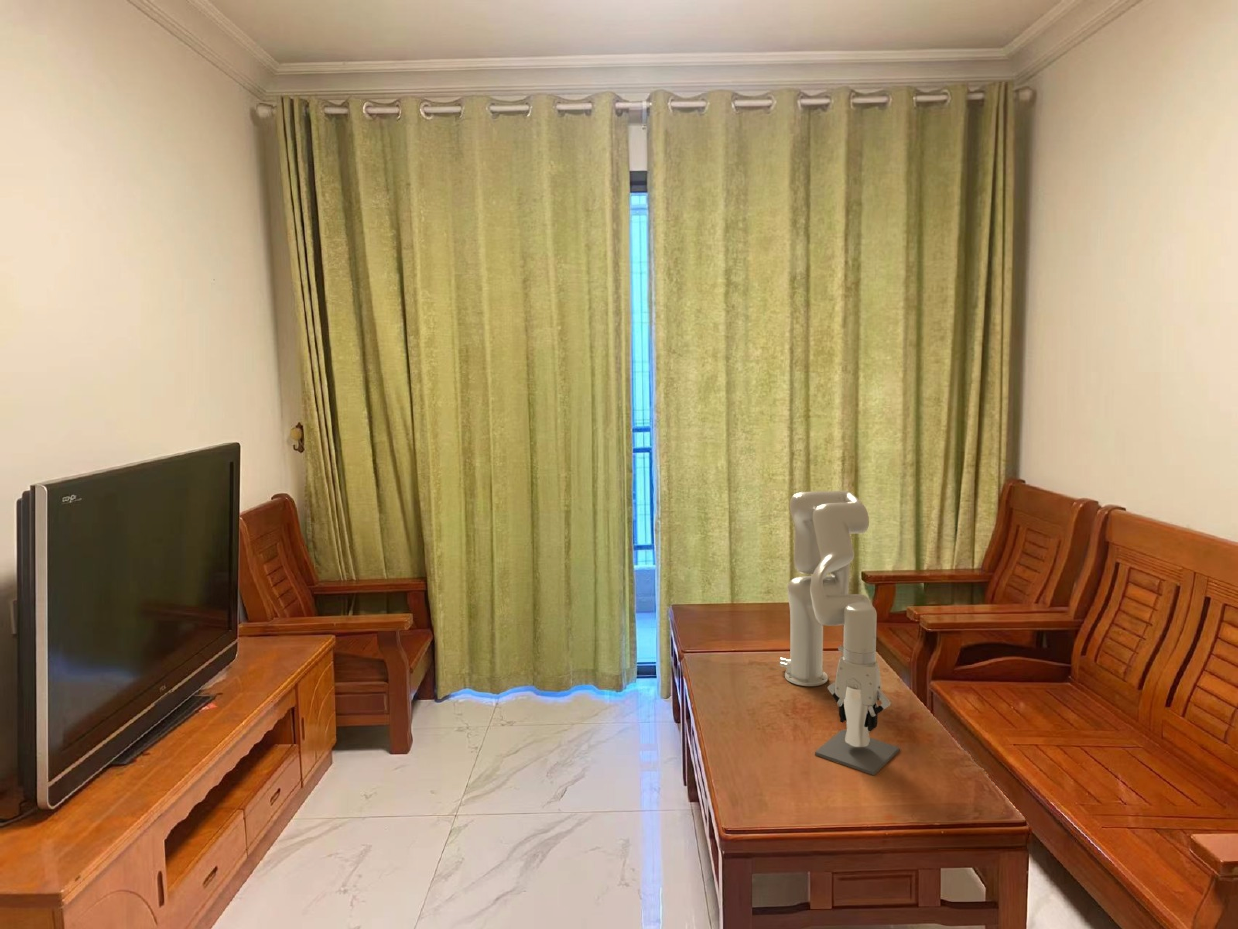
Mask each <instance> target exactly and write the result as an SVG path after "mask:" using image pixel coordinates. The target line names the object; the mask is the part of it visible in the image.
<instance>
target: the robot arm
mask: <svg viewBox="0 0 1238 929" xmlns="http://www.w3.org/2000/svg"><path fill="white" fill-rule="evenodd" d="M789 511H790V516H791V519H792V521H793V525H794V542H793V543H794V545H793V547H794V548H793V563H794V564H793V565H794V569H795V570H796V571H797V572H798V573H799V574H804V575H805V576H803V575H802V576H796V577H794V578H792V579H790V581H789V582H788V584H787V589H786V590H787V599H788V604H789V605H788V606H789V618H790V619H789V620H790V624H789V626H790V628H789V629H790V633H789V634H790V635H789V636H790V637H789V638H790V639H789V640H790V641H789V642H790V643H789V644H790V647H789V650H790V652H789V653H790V655H789V656H790V657H789V659H788V658H785V657H780V658H779V665H778V666H779V667H782V668H786V670H785V672H784V677H785V679H786V681H788V682H790V683H791V684H793V685H797V686H802V687H818V686H822V685H824V684H826V683H827V682H828V679H829V678H828V674H827V673H826V672H825V671H824V670H823V662H824V661H823V659H824V658H823V657H824V656H823V654H824V646H823V645H824V642H823V641H824V626H843V641H842V642H843V644H842V645H838V646H837V647H838V648H837V650H838V651H839V652H841V653H842V654H841V656H840V657H839V660H838V664H837V667H836V668H837V670H836V675H835V681H834V682H832V683H831V684H829V685H828V686H827V690H828V691H829V693H831V695H832V697H833V699H834V700H835V702H836V704H837V707H838V716H839V722H840V723H846V718H845V712H844V704H843V699H845V696H846V690H847V689H846V688H847V686H849V687H851V688H854V689H859V690H861V700H862V704H863V705H865V706H869V712H870V715H868V731H869V733H871V732H872V731H873V730H875V729H876V728H877V726H878V719H879V718H878V716H879V714H880V713H881V712H883V711H884V710H886V709H887V708H888V707H889V706H891V705H892V702H891V701H890V700H889V698H888V697H887V695H886V694H885V693H884V691H882V677H881V672H880V666H879V662H878V661H876V660H877V659H876V656H877V655H876V654H877V652H876V651H877V648H876V646H877V617H878V616H877V614H878V613H877V610H876V608H875V607H874V606H873V603H872V601H871V600H870V598H869V597H868V596H867V595H865V594H862V593H855V594H853V593H851V594H849V583H850V569H851V568H850V567H851V565H850V564H851V562H853V560H854V558H855V551H854V548H853V544H852V538H851V535H852V534H853V535H854V534H864V533H865V532H867V530H868V528H869V526H870V516H869V513H868V510H867V508H866V506H865V504H863V502H862V501H861V500H860V499H859V498H858V497H857V496H855V495H854V493H852V492H851V491H847V490H829V491H828V490H827V491H825V490H824V491H822V490H821V491H819V490H818V491H815V490H814V491H801V492H797V493H794V494H793V495H792V496H791V498H790V500H789ZM829 574H830V575H829ZM870 697H871V698H870ZM877 701H878V702H879V701H881V704H880V705H878V702H877Z"/></svg>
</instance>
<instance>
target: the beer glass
mask: <svg viewBox="0 0 1238 929" xmlns="http://www.w3.org/2000/svg"><path fill="white" fill-rule="evenodd" d="M846 689H847V690H846V696H845V699H843V704H844V712H845V718H846V721H845V723H846V728H845V730H846V735H845V743H846V744H847V745H849V746H851V747H855V748H866V747H868V746H869V745H870V738H871V737H870V731H868V715H870V712H869V706H865V705H863V704H862V700H861V690H859V689H854V688H851V687H849V686H847V688H846ZM870 698H871V697H870Z"/></svg>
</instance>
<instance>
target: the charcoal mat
mask: <svg viewBox="0 0 1238 929" xmlns="http://www.w3.org/2000/svg"><path fill="white" fill-rule="evenodd" d="M845 735H846V729H840V730H839V731H838V732H837V733H836V734H835V735H833V736H832V737H831V738H830V739H829V740H827V741H826V742H825V743H824V744H823V745H822V746H820V747H819V748H817V749H816V751H815V750H814V755H815V756H817V757H819V758H820V757H821V758H823V759H826V760H829V761H831V762H834V763H837V764H840V765H843V766H846V767H849V768H851V769H854V770H857V771H860V772H863V773H866V774H868V775H872V776H875V775H876V774H877V773H878V772H879V771H880V770H881V769H882V768H883V767H884V766H885V765H887V764H888V762H889V761H891V759H892V758H893V757H895V755H896V754H898V752H900V746H896V745H894V744H890V743H888V742H885V741H882V740H878V739H876V738H872V737H870V745H869V746H868V747H866V748H855V747H851V746H849V745H847V744H846V743H845Z"/></svg>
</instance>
